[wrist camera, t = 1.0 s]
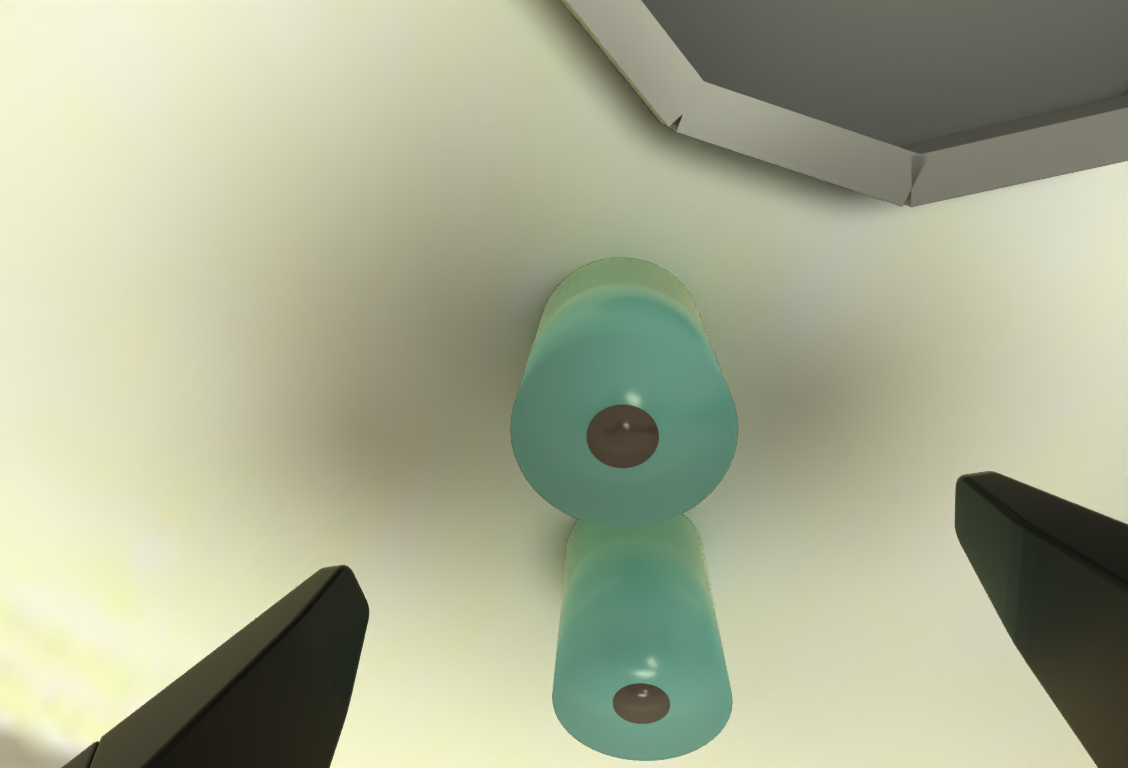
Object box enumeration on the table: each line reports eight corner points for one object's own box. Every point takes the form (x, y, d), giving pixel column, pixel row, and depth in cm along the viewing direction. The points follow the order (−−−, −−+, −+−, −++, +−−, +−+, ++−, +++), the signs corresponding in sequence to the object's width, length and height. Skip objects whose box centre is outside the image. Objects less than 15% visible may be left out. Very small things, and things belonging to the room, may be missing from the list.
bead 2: (691, 487, 19) (720, 629, 14) (710, 594, 21) (742, 755, 16) (552, 508, 20) (532, 651, 15) (582, 610, 21) (574, 769, 16)
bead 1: (687, 240, 16) (722, 309, 11) (710, 392, 17) (750, 511, 12) (522, 277, 16) (483, 356, 11) (560, 419, 18) (541, 542, 13)
